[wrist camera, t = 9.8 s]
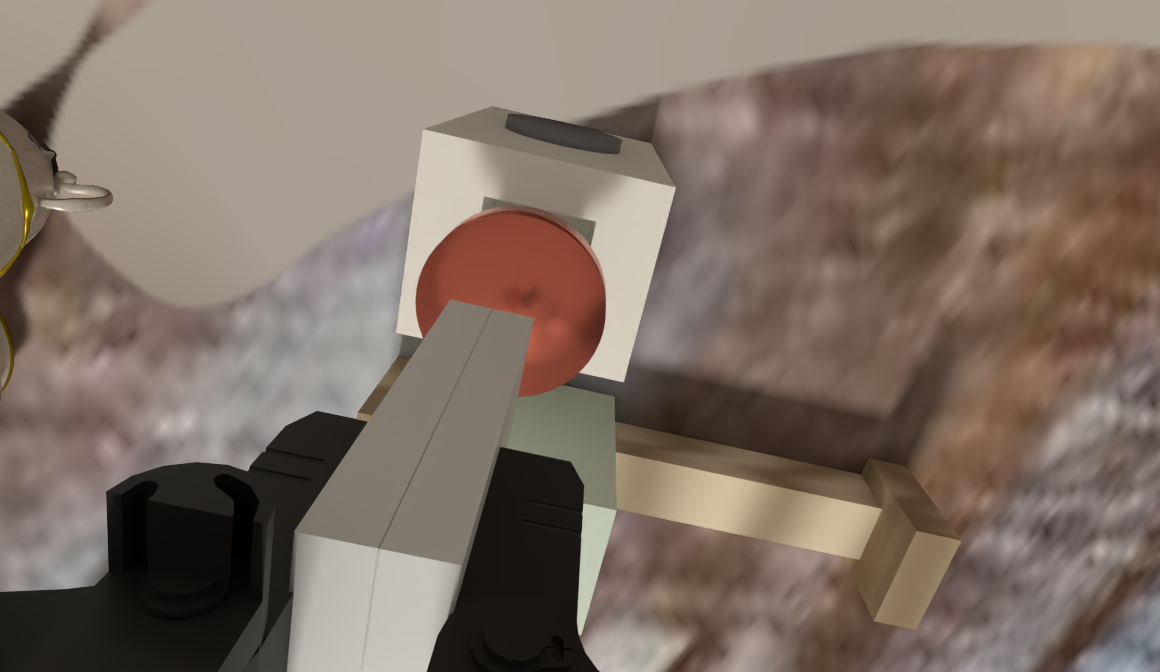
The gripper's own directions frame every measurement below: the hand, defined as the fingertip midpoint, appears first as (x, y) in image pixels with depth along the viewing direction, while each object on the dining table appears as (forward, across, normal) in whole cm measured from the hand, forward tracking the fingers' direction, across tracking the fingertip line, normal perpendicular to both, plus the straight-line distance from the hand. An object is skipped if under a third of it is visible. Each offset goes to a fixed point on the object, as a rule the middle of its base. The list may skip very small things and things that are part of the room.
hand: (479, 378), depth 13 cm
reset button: (+8, 0, 0) cm, 8 cm away
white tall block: (+20, 0, 0) cm, 20 cm away
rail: (+20, -7, +12) cm, 24 cm away
